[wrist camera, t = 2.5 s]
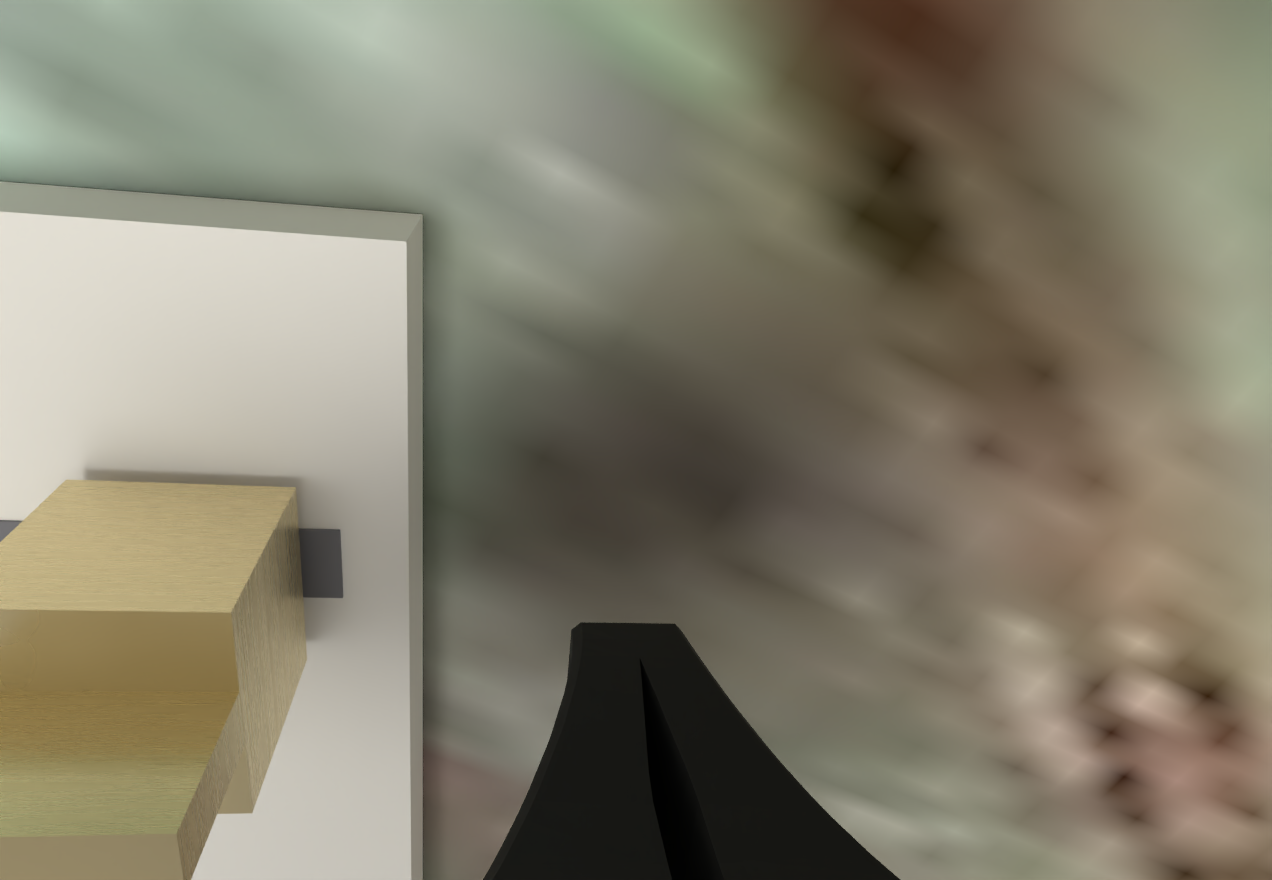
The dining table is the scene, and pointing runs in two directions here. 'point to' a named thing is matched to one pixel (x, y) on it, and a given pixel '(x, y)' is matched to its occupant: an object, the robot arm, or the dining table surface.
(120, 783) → the brass slider
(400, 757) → the control board
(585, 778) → the robot arm
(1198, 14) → the dining table surface
